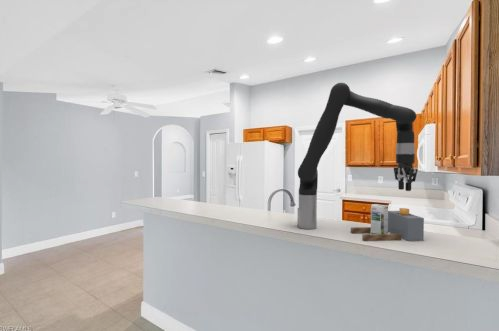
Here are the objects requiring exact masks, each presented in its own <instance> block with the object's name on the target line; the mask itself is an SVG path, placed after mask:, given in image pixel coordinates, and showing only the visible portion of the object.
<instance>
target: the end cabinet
mask: <svg viewBox="0 0 499 331" xmlns="http://www.w3.org/2000/svg"><path fill="white" fill-rule="evenodd" d="M424 224H425V218H424V217H422V216H418V215H416V214H412V213H409V215H405V216H402V215H399V210H388V233H389V234H401V235H402V238H401V240H402V239H403V240H405V241H407V242H423V241H424V236H425V235H424V231H425V230H424V228H425V225H424Z"/></svg>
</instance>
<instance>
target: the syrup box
mask: <svg viewBox="0 0 499 331" xmlns="http://www.w3.org/2000/svg"><path fill="white" fill-rule="evenodd" d="M388 211H389V205H388V204H377V203H374V204H373V203H372V204H370V227H371V233H370V234H389V232H388Z"/></svg>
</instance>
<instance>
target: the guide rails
mask: <svg viewBox="0 0 499 331" xmlns="http://www.w3.org/2000/svg"><path fill="white" fill-rule="evenodd" d="M350 233H351V234H362V241H363V242H378V241H381V242H382V241H385V242H386V241H402V235H401V234H392V233H388V234H371V226H366V227H365V226H363V227H361V226H360V227H358V226H357V227H354V226H353V227H350Z"/></svg>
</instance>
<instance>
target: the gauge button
mask: <svg viewBox="0 0 499 331" xmlns="http://www.w3.org/2000/svg"><path fill="white" fill-rule="evenodd" d="M398 211H399V215H402V216H405V215H409V214H410V208H405V207H400V208H399V210H398Z"/></svg>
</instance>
